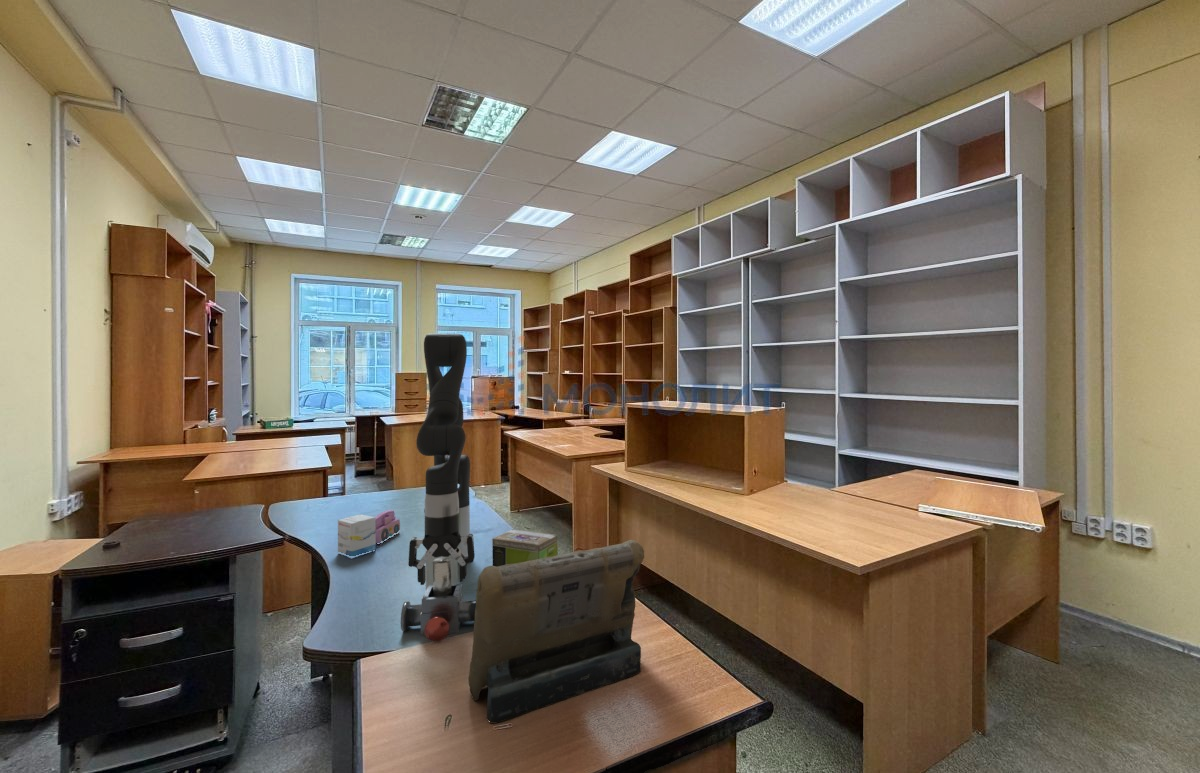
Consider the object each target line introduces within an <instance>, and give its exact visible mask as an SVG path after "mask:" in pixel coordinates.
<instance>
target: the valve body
mask: <svg viewBox="0 0 1200 773" xmlns="http://www.w3.org/2000/svg"><path fill="white" fill-rule="evenodd" d="M462 583H463V582H458V584H452V596H442V597H433V585H431V586H428V587H427V590H426V589H425V592H424V594H423V596H422V598H421V603H420V604H411V602H410V601H404V603H403V604H402V608H401V613H400V630H401V631H402V632H407V631H409V630H408V629H409V628H410V627H419V626H420V638H421V637H422V638H423V637H426V639H428V641H430V642H441V641H442V640H444V639H446V637H447V636H448V635H459V632H460V628H461V624H462V623H465V622H474V621H475V608H476V598H477V596H476V598H475V599H473V600H471V599H470V600H464V598H463V597H464V595H463V593H462V592H463V591H462V588H463V586H462Z"/></svg>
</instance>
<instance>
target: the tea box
mask: <svg viewBox="0 0 1200 773" xmlns="http://www.w3.org/2000/svg"><path fill="white" fill-rule="evenodd" d="M491 540H492V549H491V550H492V551H491V552H492V566H502V565H507V564H516V563H521V562H527V561H530V560H537V559H541V558H545V557H552V556H556V555H559V553H558V552H559V551H558V534H556V533H555V534H554V533H553V534H552V533H545V532H538V531H531V530H524V529H523V530H521V529H515V528H513V529H510V530H508V531H506V532H503V533H502V534H500V535H497V536H495V537H493V538H492V539H491Z"/></svg>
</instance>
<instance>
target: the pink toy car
mask: <svg viewBox="0 0 1200 773" xmlns="http://www.w3.org/2000/svg"><path fill="white" fill-rule="evenodd" d="M374 517H375V531H376V543H380V542H381V541H384V540H385V539H387V538H388V537H389V536H392V535H393V534H394V533H397V532H398V531H399V530H401V521H400V519H399V518H398V519H396V516H395V511H394V510H392V509H391V510H384V511H382V512H381V513H378V514H377V515H376V516H374Z"/></svg>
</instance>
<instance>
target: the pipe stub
mask: <svg viewBox="0 0 1200 773" xmlns="http://www.w3.org/2000/svg"><path fill="white" fill-rule="evenodd" d="M442 596H452V582H451V558H449V557H441V558H437V559H435V560H433V597H442Z"/></svg>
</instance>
